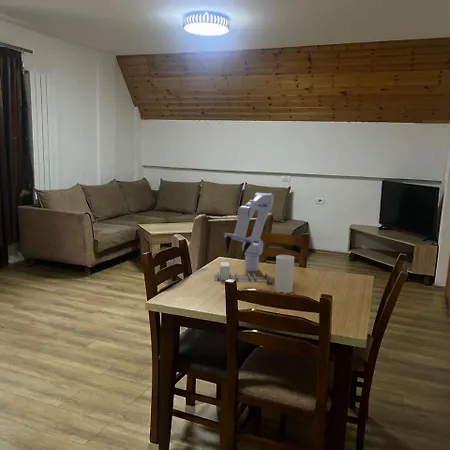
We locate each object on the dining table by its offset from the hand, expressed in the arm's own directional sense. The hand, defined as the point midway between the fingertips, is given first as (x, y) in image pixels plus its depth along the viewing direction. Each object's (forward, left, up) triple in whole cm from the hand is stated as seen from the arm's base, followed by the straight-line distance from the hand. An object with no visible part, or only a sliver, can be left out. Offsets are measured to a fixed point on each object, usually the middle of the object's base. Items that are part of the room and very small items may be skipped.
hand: (234, 254), depth 220 cm
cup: (+12, +23, -14) cm, 29 cm away
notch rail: (-3, +5, -14) cm, 15 cm away
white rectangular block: (-3, -4, -13) cm, 14 cm away
